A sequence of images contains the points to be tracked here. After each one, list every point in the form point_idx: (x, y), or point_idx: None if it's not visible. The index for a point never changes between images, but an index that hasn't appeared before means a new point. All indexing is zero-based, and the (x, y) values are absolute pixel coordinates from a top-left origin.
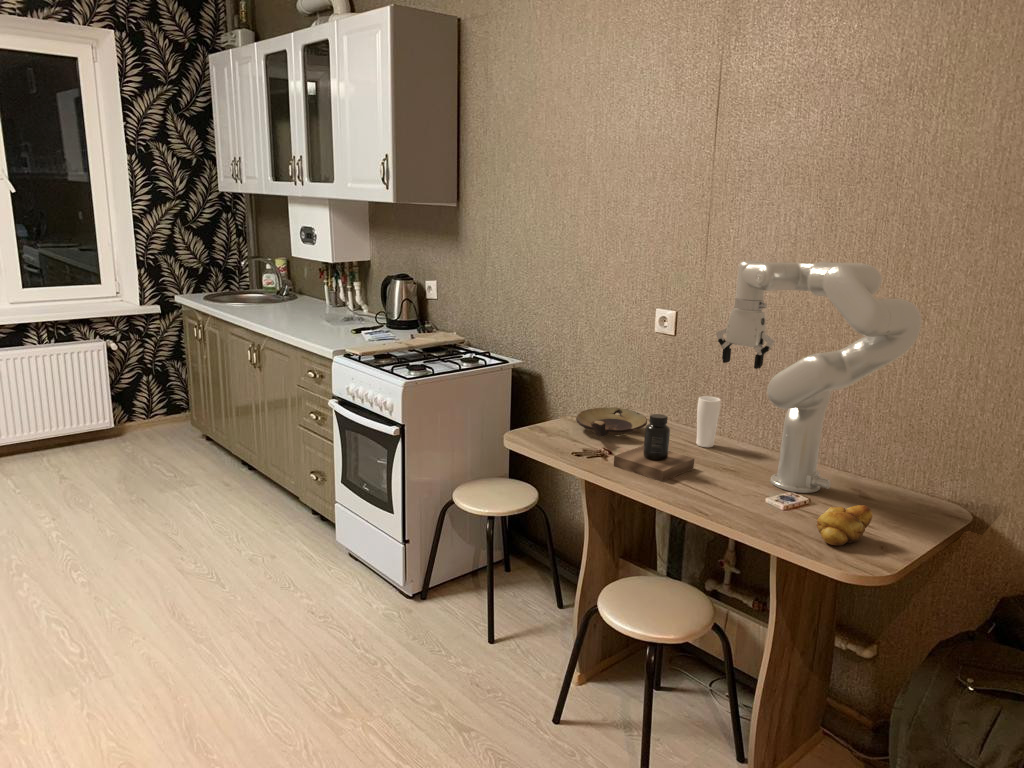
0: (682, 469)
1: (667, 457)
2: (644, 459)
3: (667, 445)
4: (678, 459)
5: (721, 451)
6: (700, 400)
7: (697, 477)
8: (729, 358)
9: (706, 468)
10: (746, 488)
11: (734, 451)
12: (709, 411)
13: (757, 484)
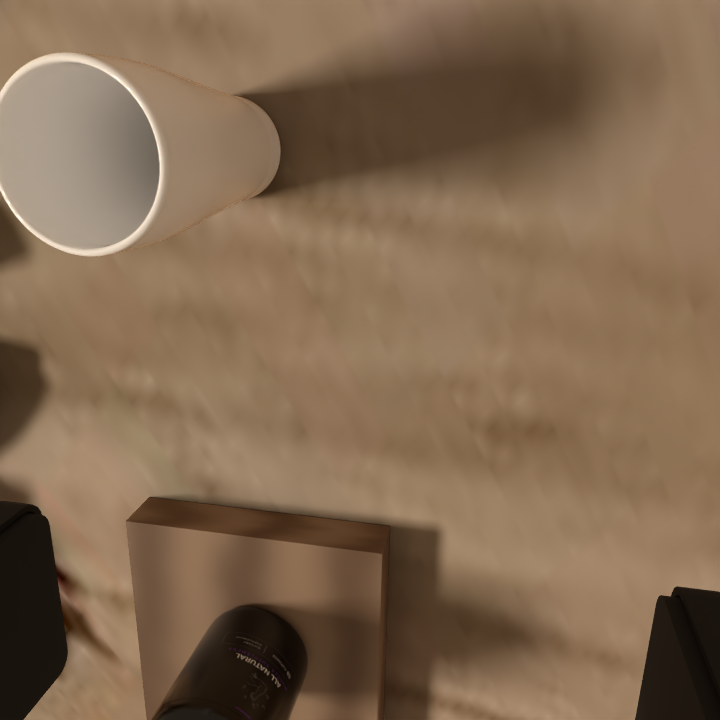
0: (384, 618)
1: (304, 646)
2: None
3: (289, 706)
4: (339, 611)
5: (353, 177)
6: (55, 245)
7: (458, 610)
8: (10, 571)
9: (430, 485)
10: None
11: (404, 112)
12: (175, 233)
13: (711, 526)
